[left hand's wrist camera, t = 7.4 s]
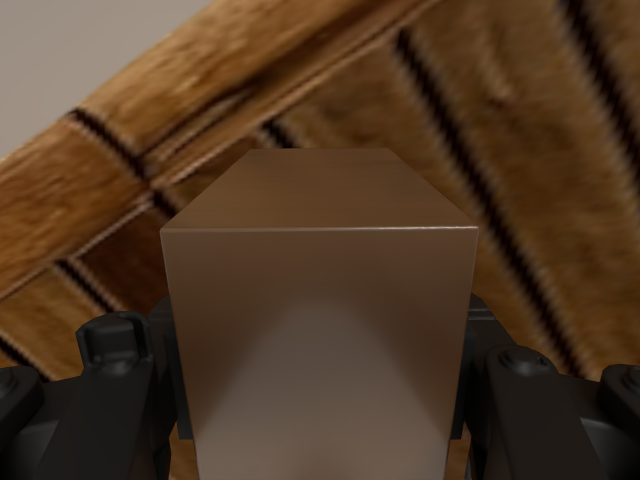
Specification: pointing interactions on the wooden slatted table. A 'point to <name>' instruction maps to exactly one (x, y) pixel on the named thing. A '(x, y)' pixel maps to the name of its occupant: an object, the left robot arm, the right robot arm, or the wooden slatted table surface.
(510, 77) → the wooden slatted table surface
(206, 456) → the plank
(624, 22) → the wooden slatted table surface
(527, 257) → the wooden slatted table surface
